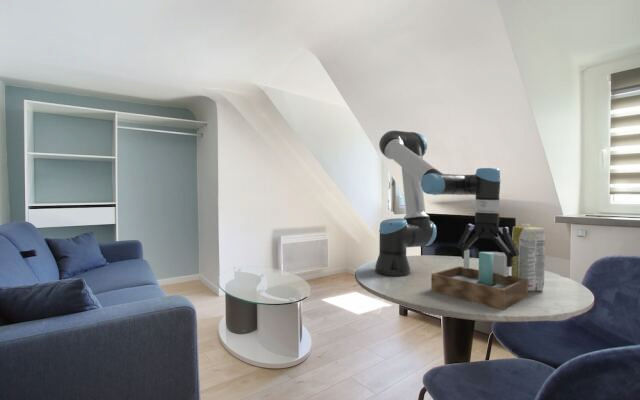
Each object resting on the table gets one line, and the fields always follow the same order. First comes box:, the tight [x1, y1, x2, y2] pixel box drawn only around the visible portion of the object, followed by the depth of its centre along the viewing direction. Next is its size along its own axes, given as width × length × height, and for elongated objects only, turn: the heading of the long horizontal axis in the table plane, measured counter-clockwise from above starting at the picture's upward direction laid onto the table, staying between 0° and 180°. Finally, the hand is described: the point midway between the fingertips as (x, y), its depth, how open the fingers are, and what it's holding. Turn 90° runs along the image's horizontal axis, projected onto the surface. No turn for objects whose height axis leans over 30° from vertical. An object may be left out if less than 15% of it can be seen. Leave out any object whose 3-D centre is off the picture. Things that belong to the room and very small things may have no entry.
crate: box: [430, 265, 529, 311], centre depth 110 cm, size 24×20×6 cm
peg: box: [478, 251, 493, 287], centre depth 112 cm, size 4×4×14 cm
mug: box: [489, 251, 506, 274], centre depth 123 cm, size 10×7×12 cm, turn 170°
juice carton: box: [510, 223, 546, 292], centre depth 116 cm, size 9×8×24 cm
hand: (485, 271), depth 112 cm, fingers open, 13 cm apart
